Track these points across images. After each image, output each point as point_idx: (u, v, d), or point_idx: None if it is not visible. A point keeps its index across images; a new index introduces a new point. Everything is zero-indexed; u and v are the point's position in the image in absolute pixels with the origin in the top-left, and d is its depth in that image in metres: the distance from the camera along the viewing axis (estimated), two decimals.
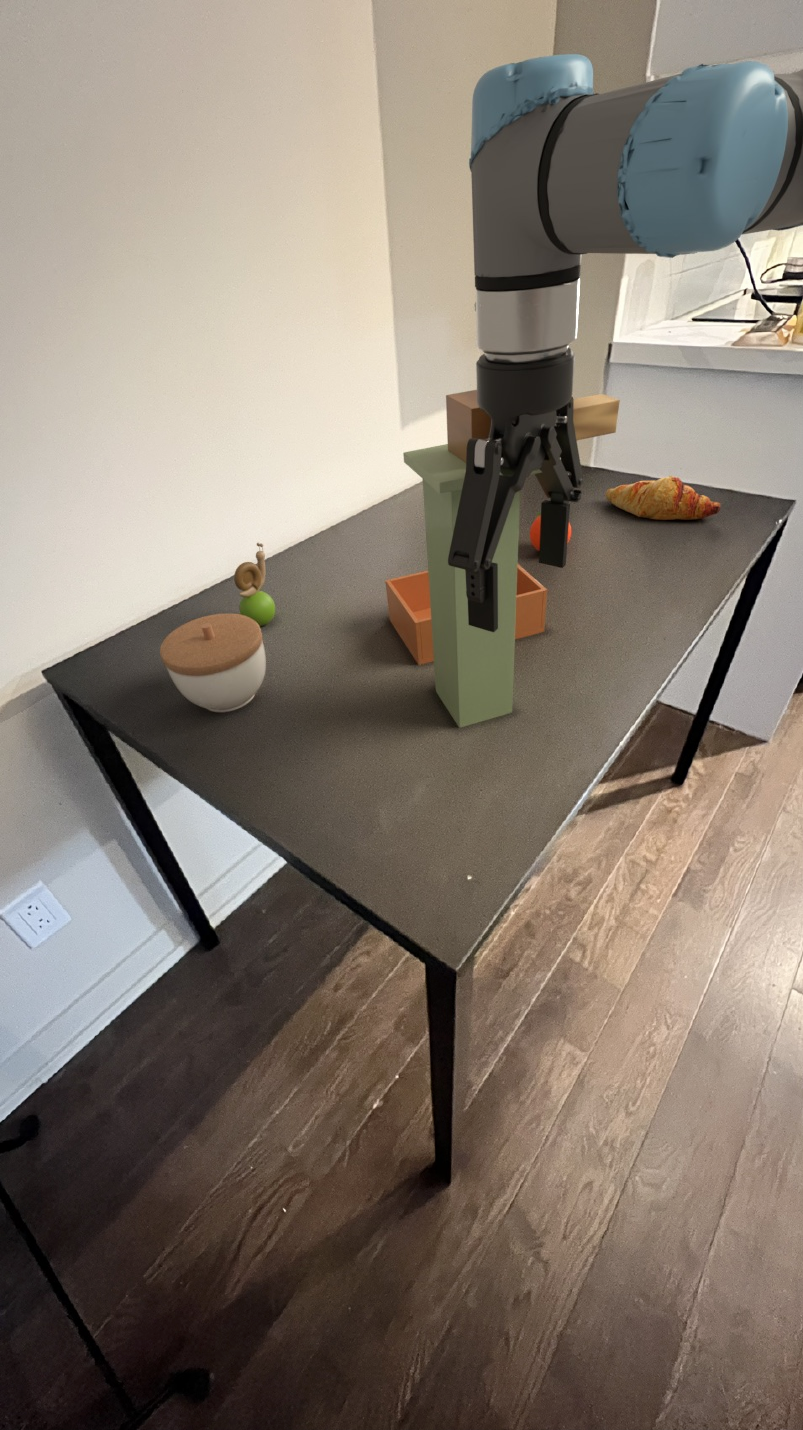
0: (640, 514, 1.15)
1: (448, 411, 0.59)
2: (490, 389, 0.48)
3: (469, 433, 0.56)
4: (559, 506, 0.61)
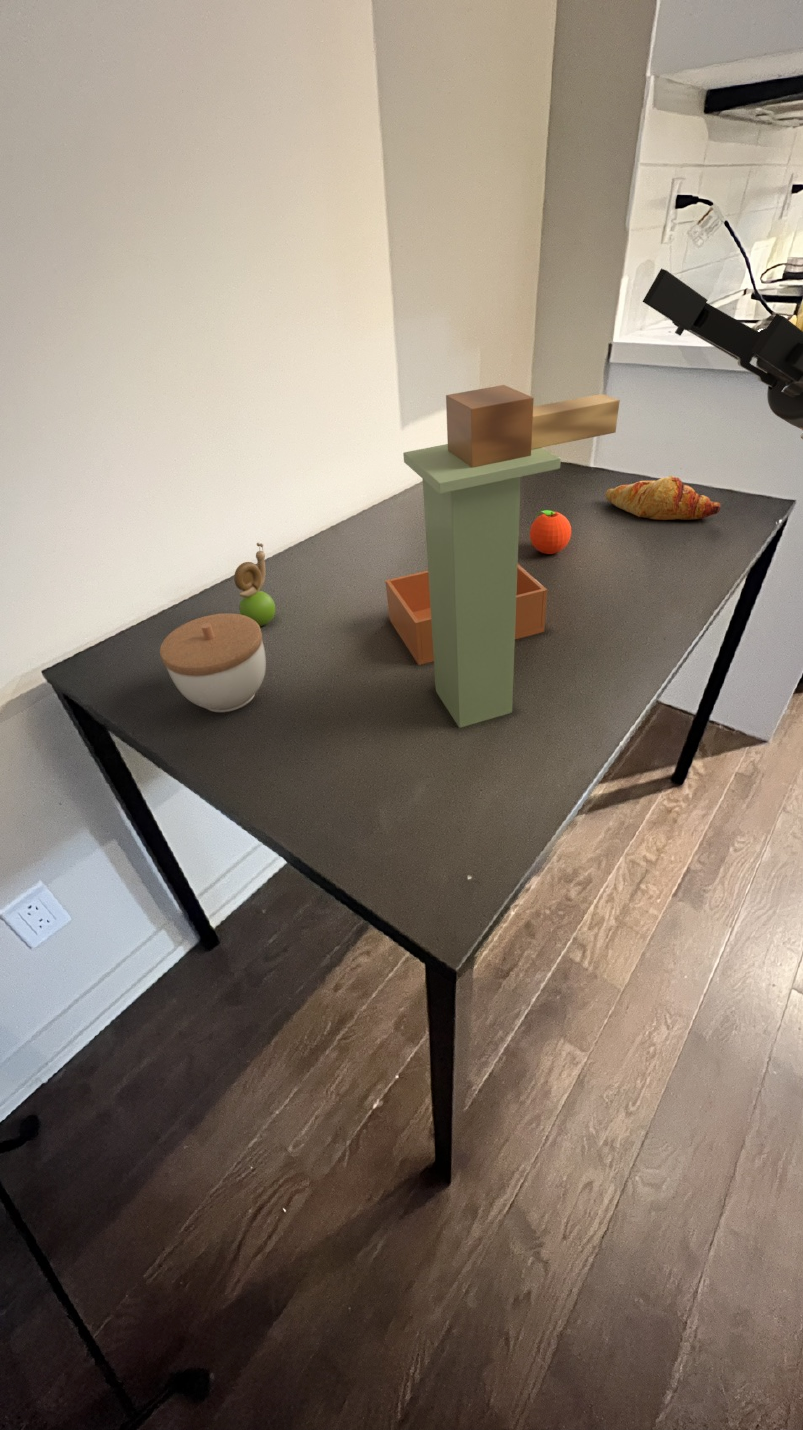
0: (640, 514, 1.15)
1: (448, 411, 0.59)
2: None
3: (469, 433, 0.56)
4: None
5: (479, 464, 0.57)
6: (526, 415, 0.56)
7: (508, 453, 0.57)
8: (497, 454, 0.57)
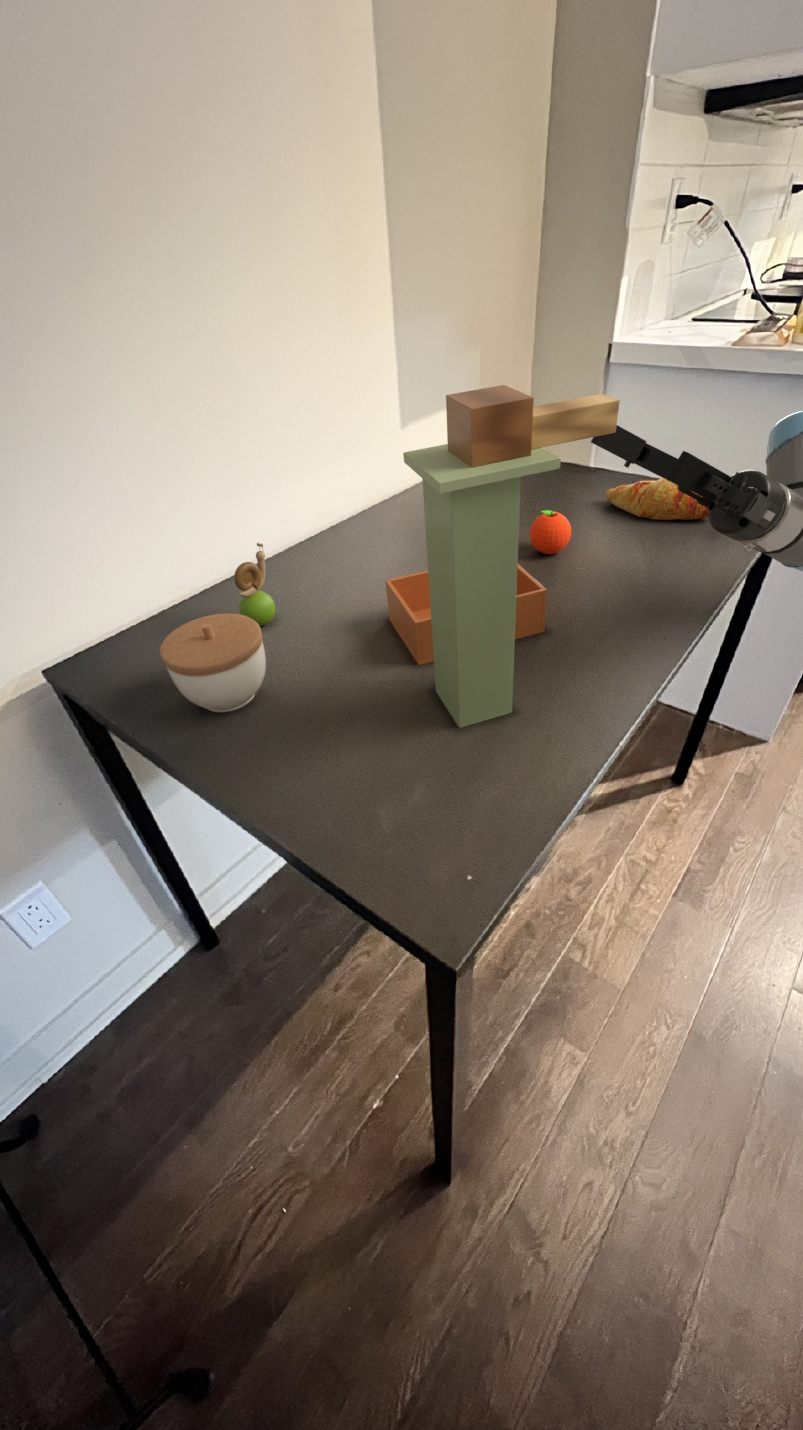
0: (640, 514, 1.15)
1: (448, 411, 0.59)
2: None
3: (469, 433, 0.56)
4: None
5: (479, 464, 0.57)
6: (526, 415, 0.56)
7: (508, 453, 0.57)
8: (497, 454, 0.57)
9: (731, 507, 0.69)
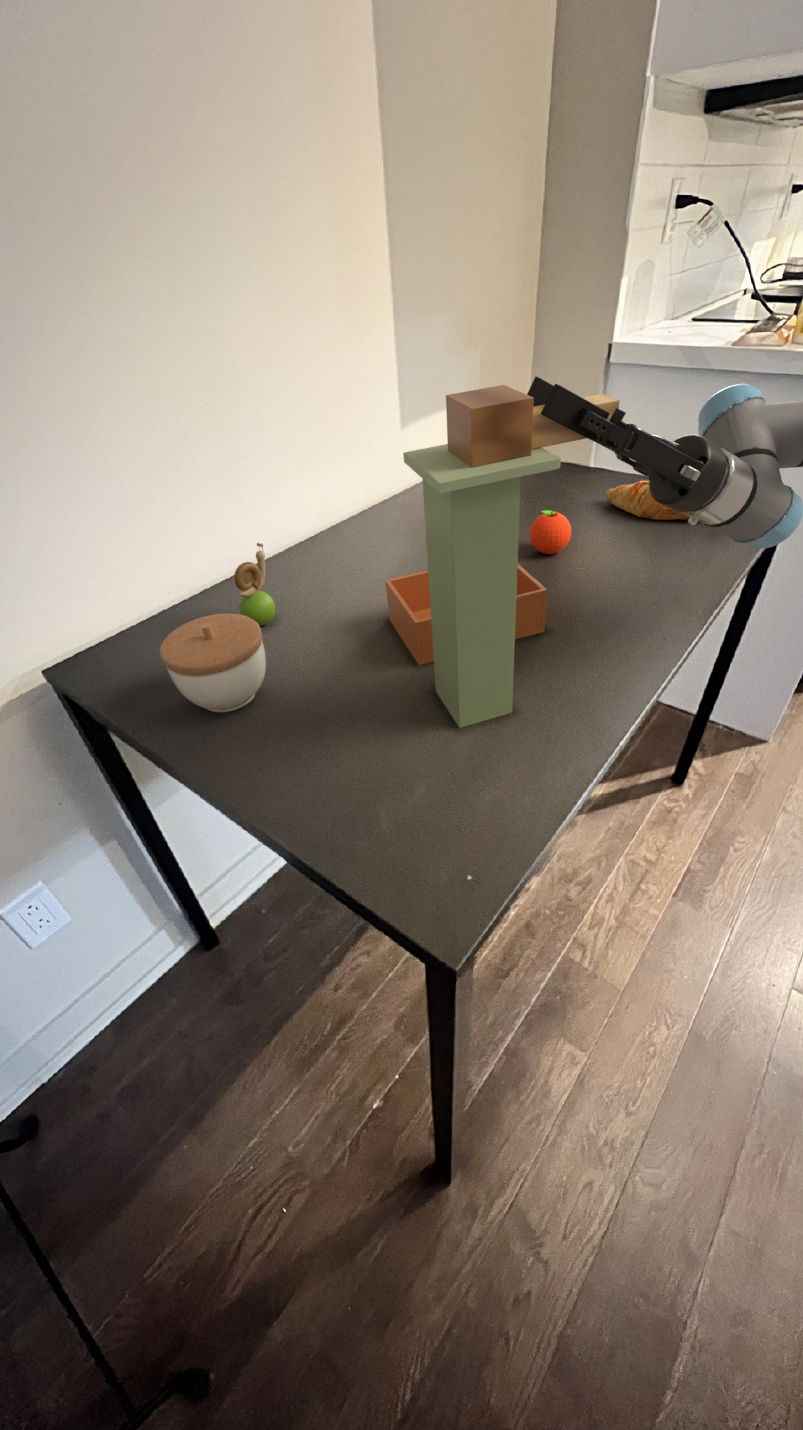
0: (640, 514, 1.15)
1: (448, 411, 0.59)
2: None
3: (469, 433, 0.56)
4: None
5: (479, 464, 0.57)
6: (526, 415, 0.56)
7: (508, 453, 0.57)
8: (497, 454, 0.57)
9: None
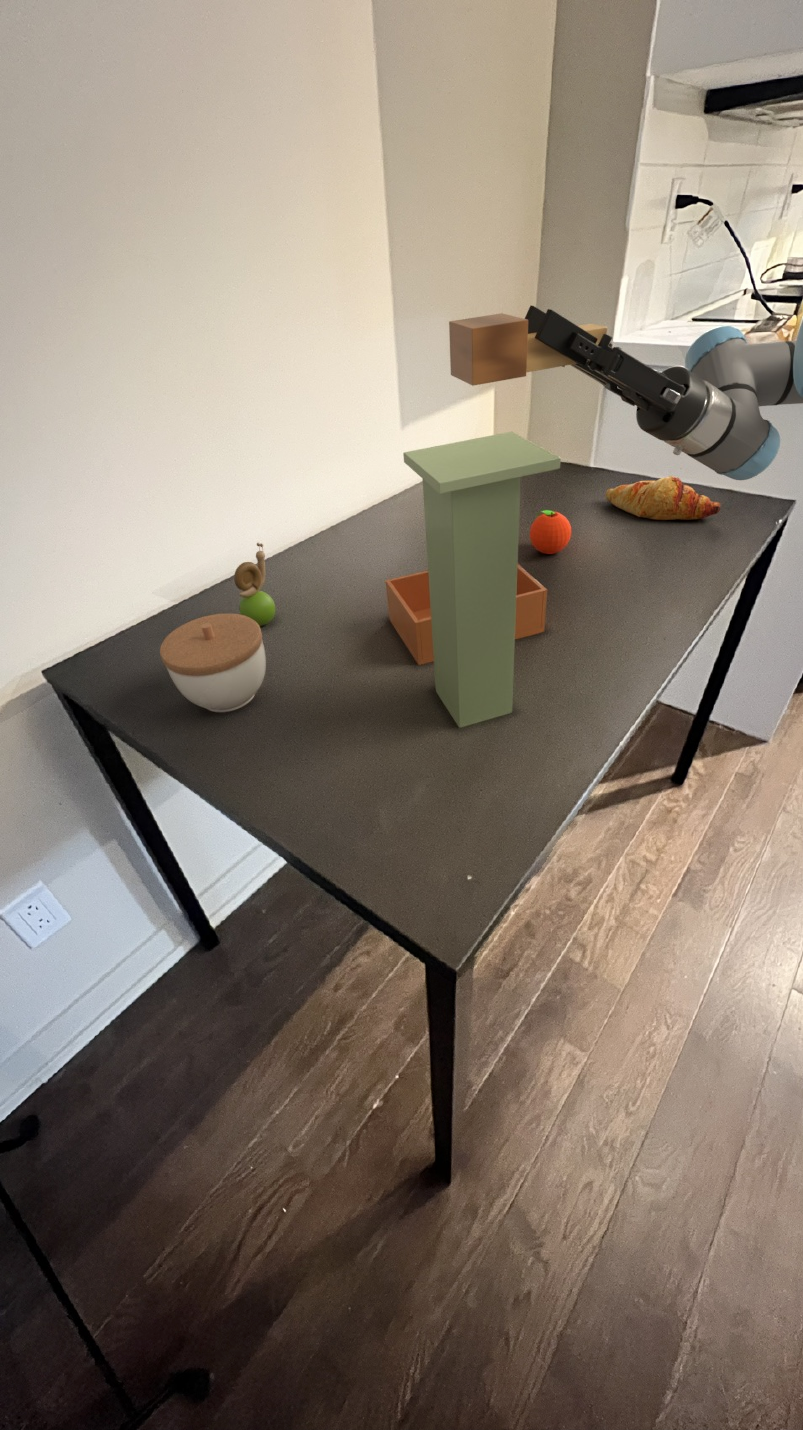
0: (640, 514, 1.15)
1: (451, 336, 0.65)
2: None
3: (469, 352, 0.62)
4: None
5: (479, 382, 0.63)
6: (521, 336, 0.62)
7: (506, 373, 0.63)
8: (495, 373, 0.63)
9: (642, 394, 0.70)
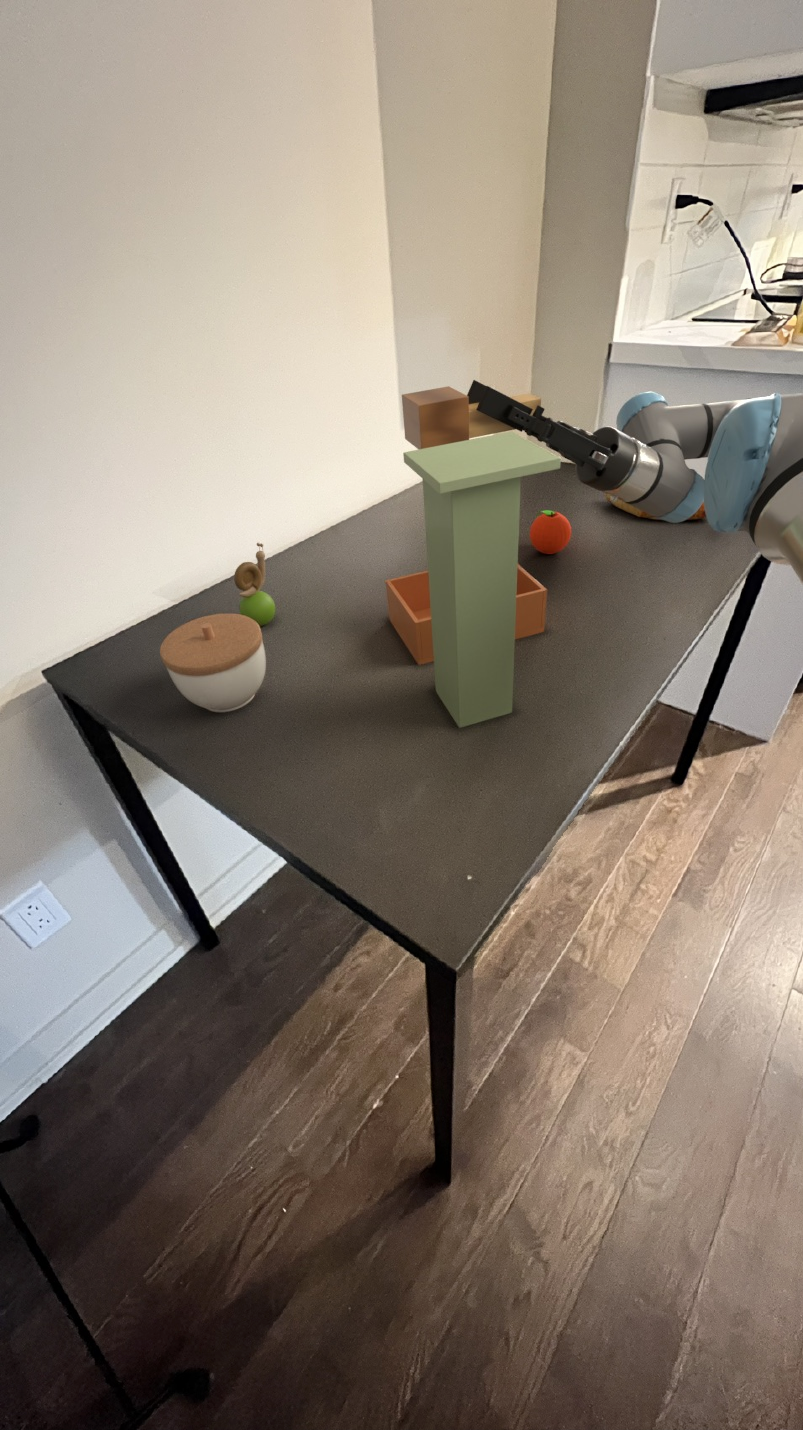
0: (640, 514, 1.15)
1: (403, 407, 0.74)
2: None
3: (418, 424, 0.71)
4: None
5: None
6: (463, 410, 0.71)
7: (451, 440, 0.72)
8: (441, 441, 0.72)
9: None
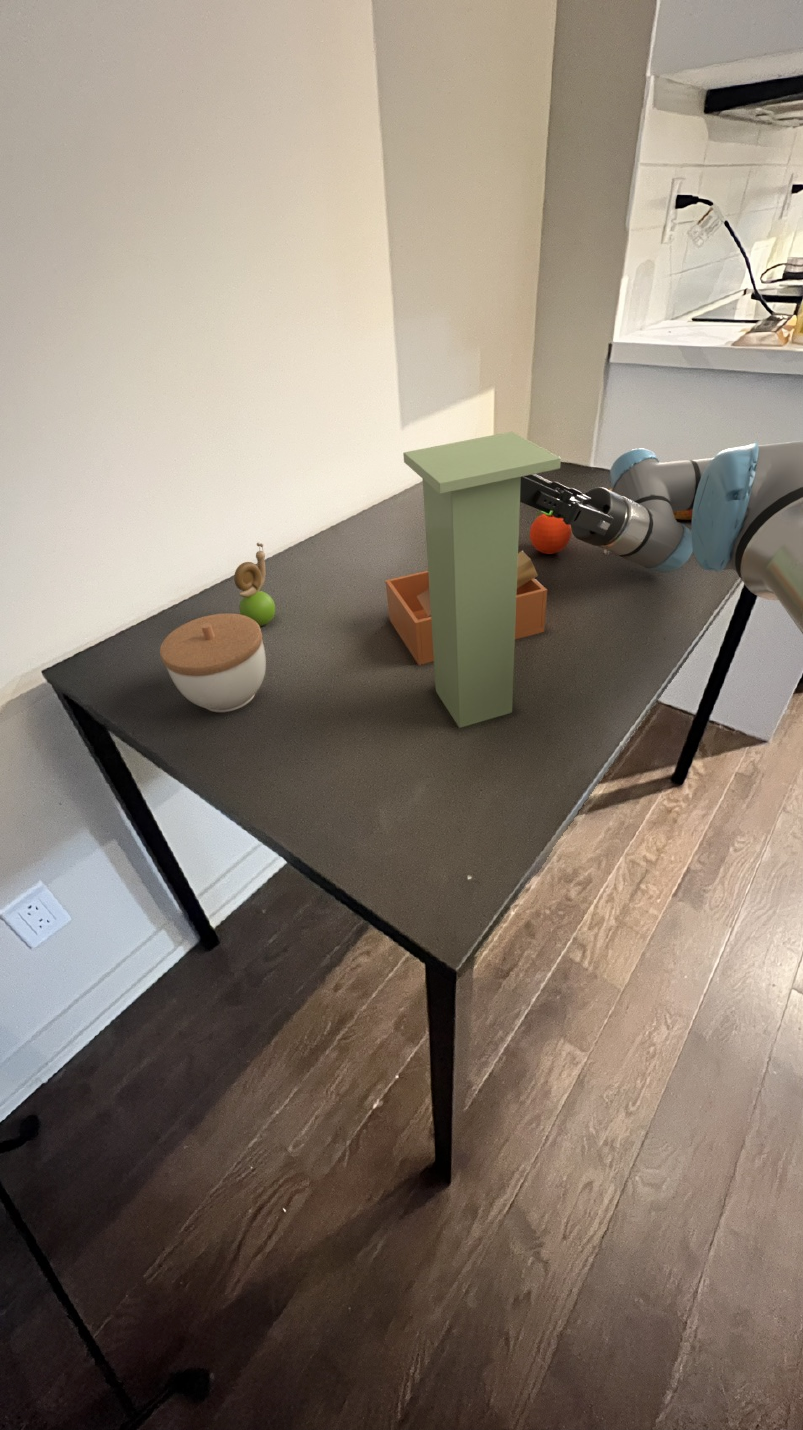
0: None
1: None
2: None
3: None
4: None
5: None
6: None
7: None
8: None
9: None
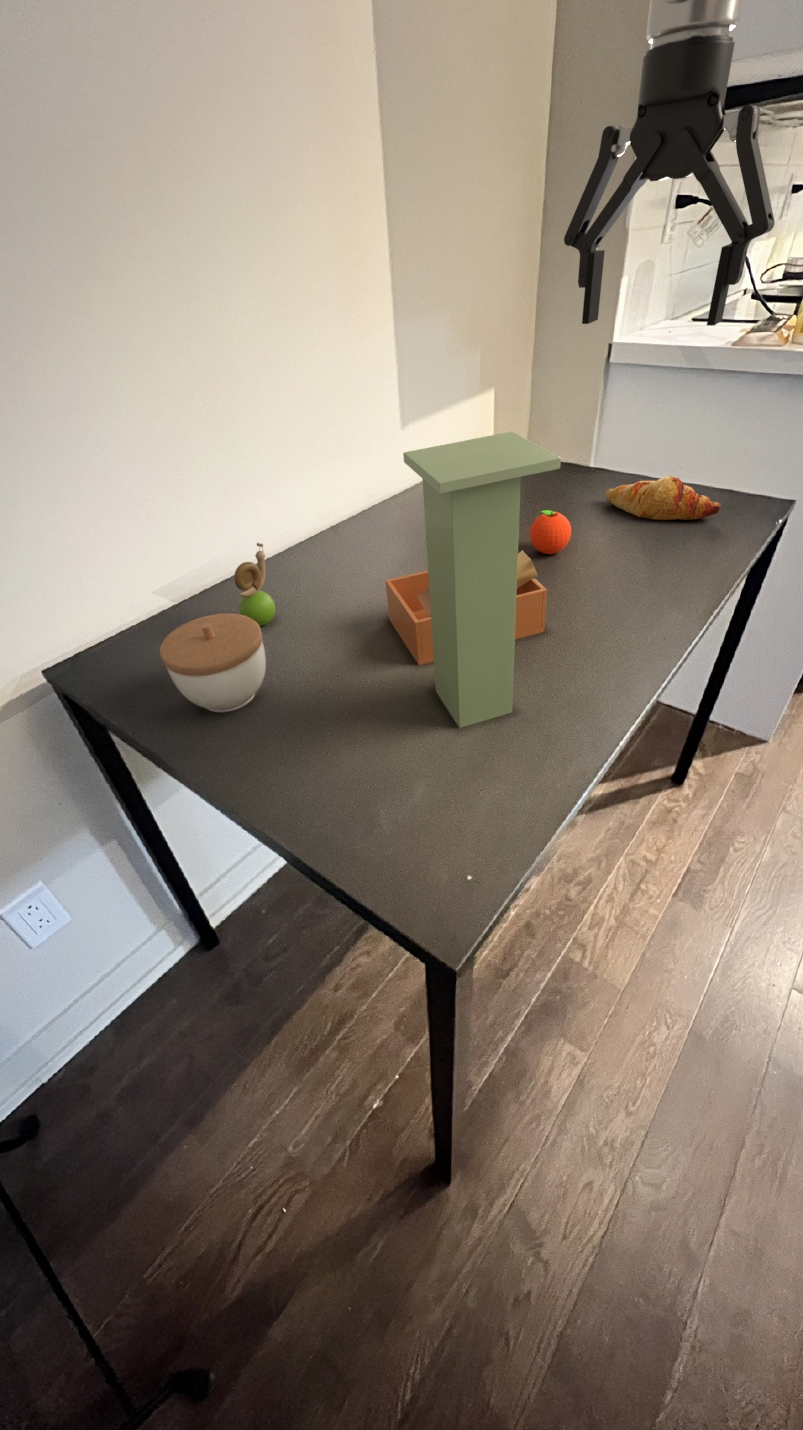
0: (640, 514, 1.15)
1: None
2: (724, 63, 0.54)
3: None
4: (601, 251, 0.68)
5: None
6: None
7: None
8: None
9: (637, 157, 0.61)
